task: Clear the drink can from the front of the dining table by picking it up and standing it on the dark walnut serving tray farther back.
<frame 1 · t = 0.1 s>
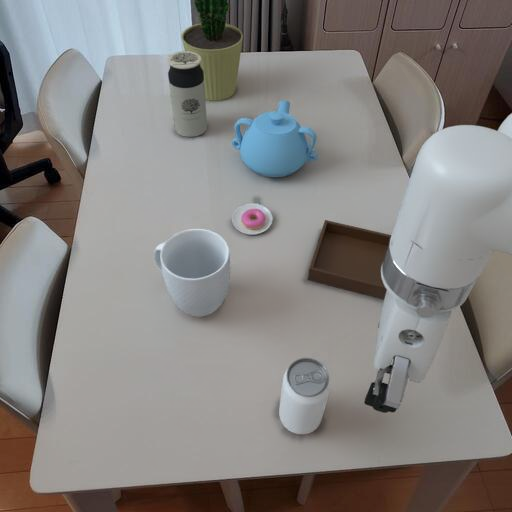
hand: (385, 366, 54), 22 cm above the table, tool pointing down, fingers open, 9 cm apart
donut: (251, 217, 102), on the table
can: (300, 414, 74), on the table
tray: (362, 266, 93), on the table
mug: (196, 299, 88), on the table
teapot: (275, 157, 115), on the table
travel mug: (191, 129, 122), on the table
potted cactus: (214, 90, 134), on the table
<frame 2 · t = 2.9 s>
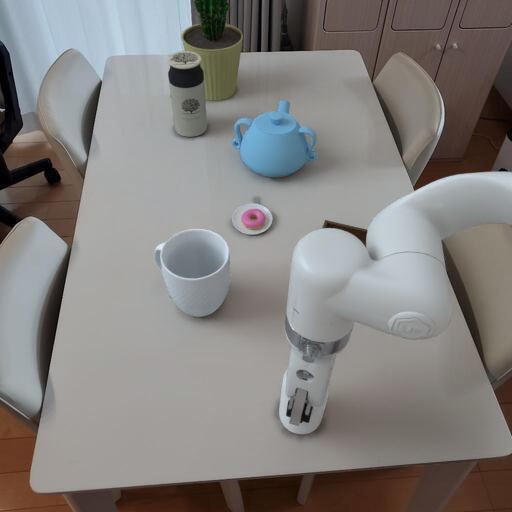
hand: (304, 393, 68), 7 cm above the table, tool pointing down, fingers closed on can, 6 cm apart
can: (300, 414, 74), on the table, touching gripper
everything else where it was.
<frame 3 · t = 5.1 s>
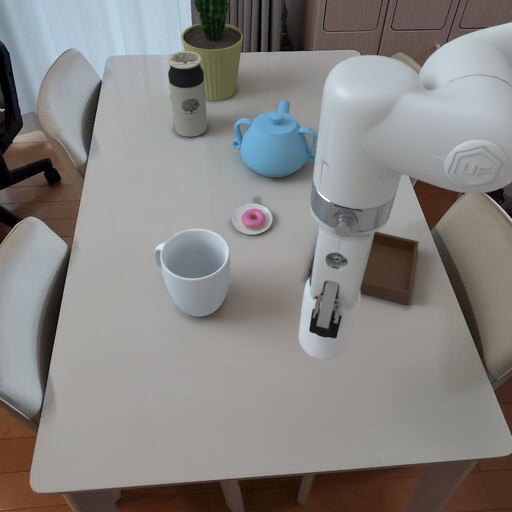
hand: (329, 308, 59), 23 cm above the table, tool pointing down, fingers closed on can, 6 cm apart
can: (322, 340, 64), point 16 cm above the table, touching gripper
everything else where it was.
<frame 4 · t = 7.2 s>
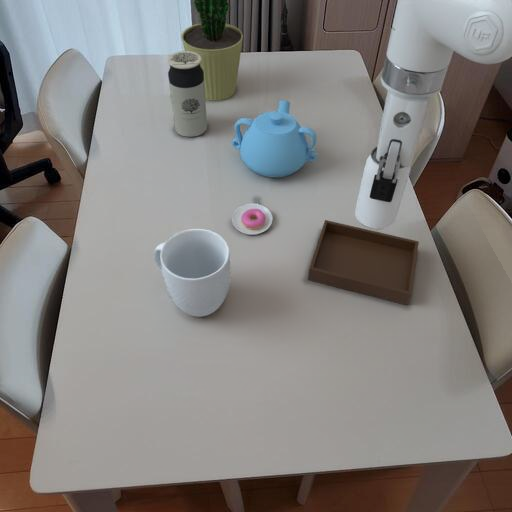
hand: (383, 182, 74), 23 cm above the table, tool pointing down, fingers closed on can, 6 cm apart
can: (374, 217, 79), point 16 cm above the table, touching gripper
everything else where it was.
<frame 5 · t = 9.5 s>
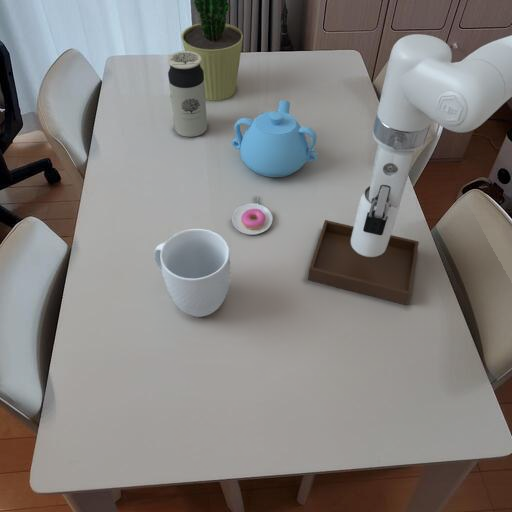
hand: (376, 217, 83), 13 cm above the table, tool pointing down, fingers closed on can, 6 cm apart
can: (367, 245, 89), point 6 cm above the table, touching gripper
everything else where it was.
when the fingers open (8 cm above the table, at t = 11.3 s): can stays where it is, resting on tray.
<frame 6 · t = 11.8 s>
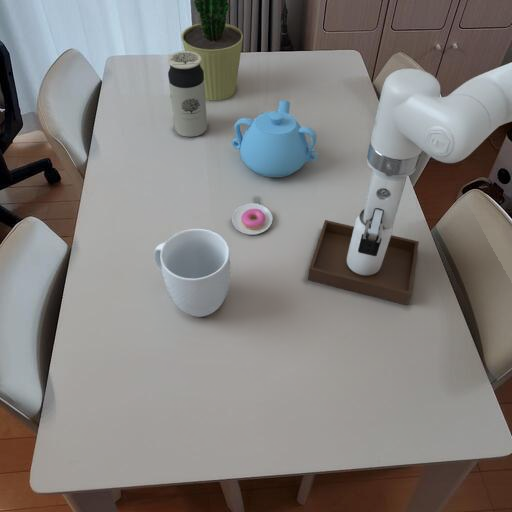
hand: (371, 233, 86), 9 cm above the table, tool pointing down, fingers open, 9 cm apart
can: (363, 264, 93), point 1 cm above the table, touching tray
everything else where it was.
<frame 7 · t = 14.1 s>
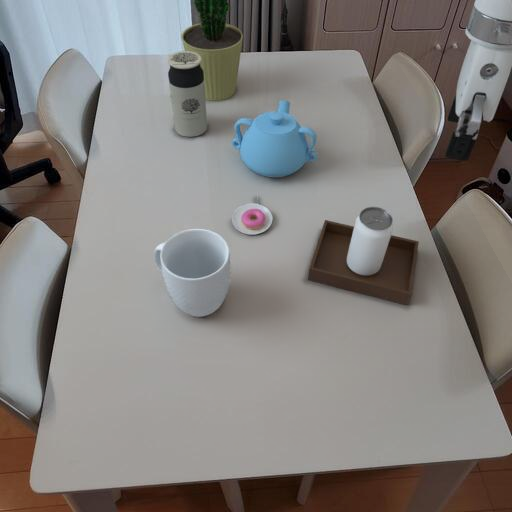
hand: (456, 139, 74), 27 cm above the table, tool pointing down, fingers open, 9 cm apart
nothing on the table moved.
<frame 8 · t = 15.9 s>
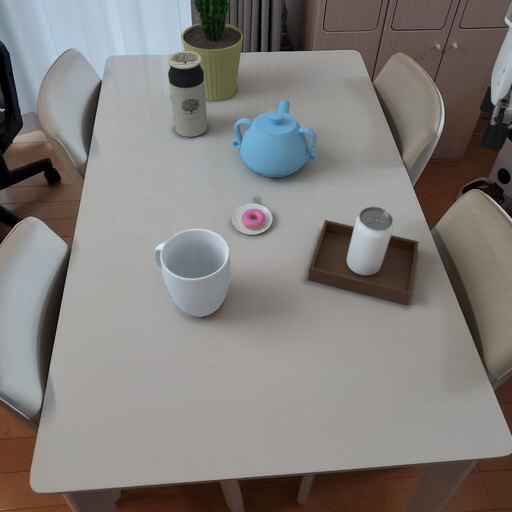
hand: (489, 128, 74), 28 cm above the table, tool pointing down, fingers open, 9 cm apart
nothing on the table moved.
at the end: can inside the target area in the tray (0.1 cm from its centre), point 0.6 cm above the tray's base; can tilted 0°; the gripper is holding nothing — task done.
